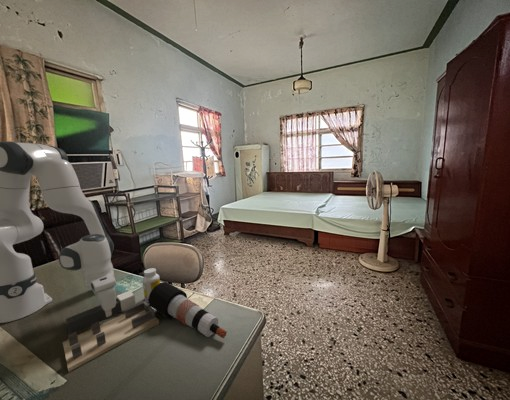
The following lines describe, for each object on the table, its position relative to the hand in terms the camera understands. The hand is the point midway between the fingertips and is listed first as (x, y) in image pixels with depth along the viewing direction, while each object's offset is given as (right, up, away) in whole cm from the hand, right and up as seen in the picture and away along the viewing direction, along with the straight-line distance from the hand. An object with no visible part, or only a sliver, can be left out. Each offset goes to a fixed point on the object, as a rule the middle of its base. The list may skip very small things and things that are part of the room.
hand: (105, 310), depth 84 cm
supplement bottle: (+14, 0, +10) cm, 17 cm away
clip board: (+10, -3, -10) cm, 14 cm away
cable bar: (-1, -2, 0) cm, 2 cm away
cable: (+34, -2, -6) cm, 35 cm away
